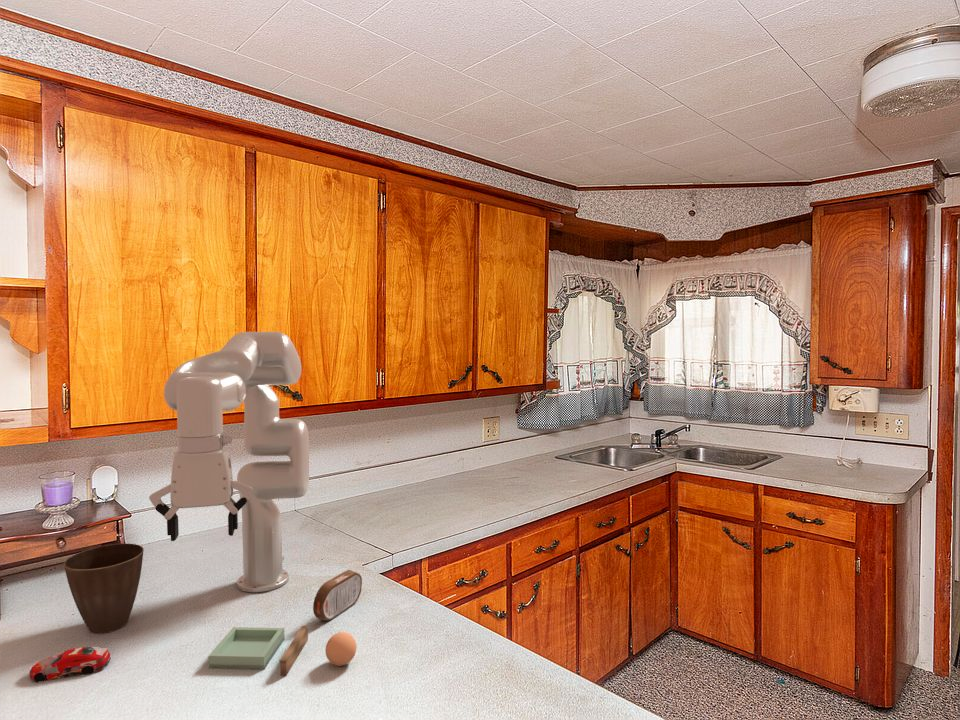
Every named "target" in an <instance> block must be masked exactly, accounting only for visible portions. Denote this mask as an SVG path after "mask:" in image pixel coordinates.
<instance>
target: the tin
mask: <svg viewBox="0 0 960 720" xmlns="http://www.w3.org/2000/svg"><path fill="white" fill-rule="evenodd" d="M362 581H363V578H362V576H361V574H360V573H359V572H356V571H353V570H351V569H347V570H344V571H343V572H342V573H340V574H337V575H336V576H334V577H333V578H330V579H329V580H327V581H325V582H324V583H323V584H322V585H321V586H320V587H319V588H318V590H317V592H316V594H315V596H314V598H313V599H314V601H313V603H312V604H313V605H312V611H313V615H314V616H315V618H316V619H321V620H323V621H331V620H333V619H335V618H336V617H338V616H339V615H341V614H342V613H344V612H345V611H347V610H348V609H350V608H352V607H353V606H354V605H355V604H356V603H357V601H358V600H359V598H360V596H361V593H362V586H363V584H362V583H363V582H362Z"/></svg>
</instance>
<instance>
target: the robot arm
mask: <svg viewBox="0 0 960 720" xmlns="http://www.w3.org/2000/svg"><path fill="white" fill-rule="evenodd" d="M302 369H303V368H302V362H301V358H300V356H299V354H298V351H297V349H296V347H295V345H294V343H293V342H292V340H291V338H290V337H289V336H288V335H287V334H285V333H283V332H280V331H244V332H243V331H242V332H238V333H237V334H234V335H233V336H232V337H231V338H230V339H229V340H228V341H227V342H226V343H225V345H224V346H223V347H222V348H221V349H220V350H218V351H215V352H214V351H213V352H211V353H208V354H205V355H202V356H199V357H196V358H192V359H190V360H186V361H185V362H183V363H181V364H180V365H179V366H177V367H176V369H175V370H174V371H172V373H171V374H170V375H169V377H168V378H167V380H166V383H165V385H164V389H163V396H164V400H165V403H166V405H167V406H168V407H169V409H172V410H173V411H176V417H177V418H176V420H177V421H176V422H177V448H178V449H177V451H175V453H174V455H173V460H172V466H171V467H172V468H171V477H170V483H169V484H167V485H165V486H164V487H162V488H161V489H159V490H157V491H155V492H152V494H150V495H149V498H148V499H149V500H150V502H151V504H152V506H154V508H155V511H156V512H158V513H159V514H160V515H161V516H163V518H164V519H165V520H166V527H167V528H166V532H167V533H166V535H167V536H170V542H175V541H176V540H177V539H178V537H179V535H180V533H179V515H178V514H177V512H178V511H179V509H192V508H195V509H196V508H203V507H204V508H205V507H208V508H209V507H218V506H224V507H225V508H226V509H227V511H229V512H228V515H227V522H228V524H227V527H228V529H227V531H228V532H227V533H228V534H227V535H228V536H230V537H232V536H234V534H235V530H238V528H239V522H238V521H239V520H238V519H239V514H238V512H239V511H240V510H241V520H242V521H241V526H242V527H241V529H242V532H241V533H242V534H241V535H242V562H243V566H242V569H243V574H242V575H241V576H239V578H238V579H237V581H236V582H237V583H236V586H237V588H238V589H239V590H241V591H243V592H248V593H263V592H264V593H265V592H268V591H273V590H275V589H277V588H280V587H282V586H284V585H286V584H287V583H288V581H289V580H290V574H289V572H288V571H287V570H285V569H283V561H284V560H285V556H284V555H283V547H282V546H283V543H282V542H283V539H282V538H283V537H282V513H281V510H280V508H279V506H277V504H276V503H275V501H274V500H277V499H279V500H280V499H281V500H282V499H300V498H303V497H304V496H305V495H306V494H307V492H308V491H309V490H308V489H309V484H310V438H309V436H310V435H309V434H310V433H309V429H308V426H307V424H306V423H305V421H304V420H301V419H299V418H280V399H279V397H278V395H277V394H276V392H275V391H274V390H273V388H272V387H271V386H290V385H291V386H292V385H294V384H296V383H297V382H299V380H300V378H301V376H302ZM242 404H243V405H244V409H243V410H244V411H243V412H244V413H243V414H244V415H243V416H244V424H243V427H244V428H243V429H244V430H243V442H244V448H245V449H244V450H245V452H246V453H247V454H248V455H250V456H252V457H253V456H254V457H282V456H283V457H285V456H286V457H288V458H289V460H281V461H280V460H278V461H277V460H271V461H270V460H268V461H254V462H253V461H252V462H249V463H247V464H244V465H243V466H242V467H240V469H239V471H238V472H237V475H236V479H234V478H233V469H232V461H231V455H230V452H229V448H226V447H225V446H226V445H229V444H233V443H232V441H233V440H232V439H233V437H232V436H228V435H226V434H225V432H224V428H223V427H224V422H223V421H224V420H223V419H224V418H223V412H230V411H233V410H235V409H238V408H239V407H240V406H241V405H242ZM234 490H236V491H238V494H239V499H238V500H237V501H235V500H234V498H233V495H234ZM169 494H170V504H171V506H168V505H167V504H166V503H165V502H163V500H162V498H163V497H165V496H167V495H169Z"/></svg>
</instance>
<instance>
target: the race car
mask: <svg viewBox="0 0 960 720" xmlns="http://www.w3.org/2000/svg"><path fill="white" fill-rule="evenodd" d="M111 659H112V658H111V653H110V651H109V649H108V648H107V647H99V646H81V647H80V646H79V647H74V648H70V649H67V650H64V651H63V652H62V653H59V654H57V655H53V656H49V657H46V658H44V659H41V660H40V661H38V662H36V663H35V664H33V665H32V667H31V668H30V670H29V673H28V674H29V677H30V679H29V680H31V681H33V682H34V681H35V682H36V683H39V682H41V683H42V682H45V681H46V680H47V681H48V680H54V679H60V678H68V677H73V676H80V675H81V676H82V675H83V676H84V675H91V674H93V673H96V672H98V671H101V670H102V669H105V667H107V666H108V665H109V663H110V660H111Z"/></svg>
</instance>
